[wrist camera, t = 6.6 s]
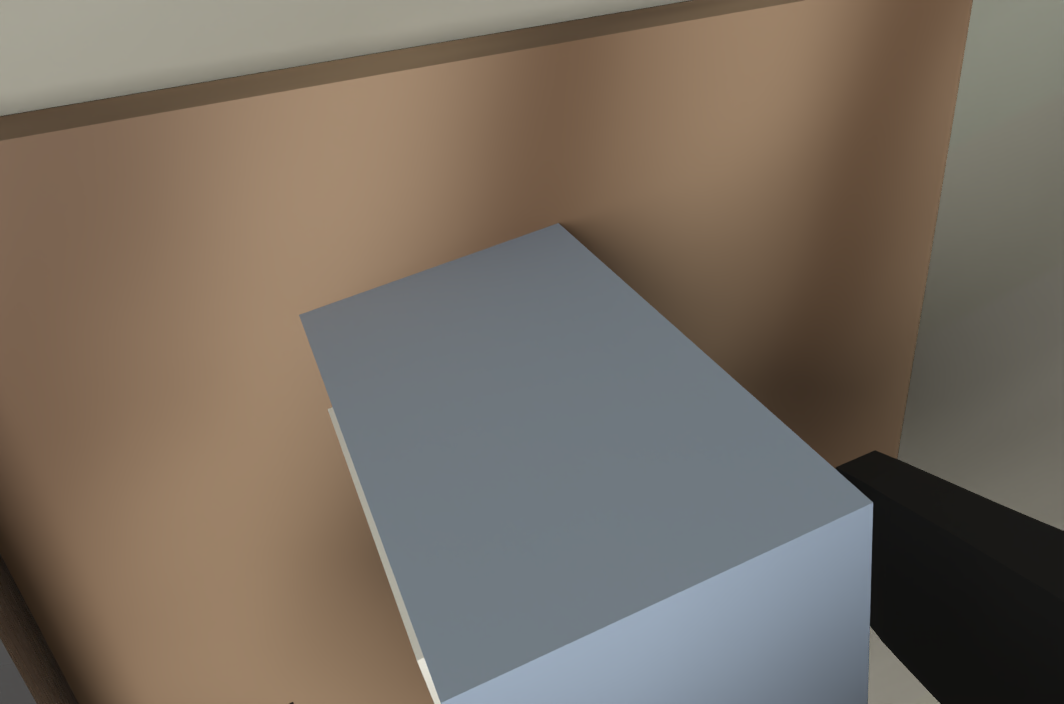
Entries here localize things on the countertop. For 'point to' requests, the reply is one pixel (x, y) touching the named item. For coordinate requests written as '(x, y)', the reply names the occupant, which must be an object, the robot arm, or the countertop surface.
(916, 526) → the robot arm
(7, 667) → the price rail
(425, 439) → the carton
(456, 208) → the shelf board
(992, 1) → the countertop surface
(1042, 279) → the countertop surface
